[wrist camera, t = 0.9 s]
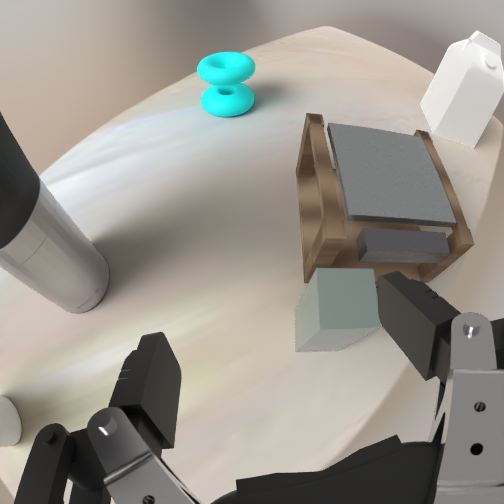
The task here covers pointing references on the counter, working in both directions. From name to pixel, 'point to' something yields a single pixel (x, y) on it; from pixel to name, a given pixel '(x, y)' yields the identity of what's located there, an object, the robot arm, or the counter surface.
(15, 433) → the milk bottle
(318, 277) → the soapstone block
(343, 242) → the frame
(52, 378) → the counter surface
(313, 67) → the counter surface
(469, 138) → the milk
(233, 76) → the donuts
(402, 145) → the trapdoor
